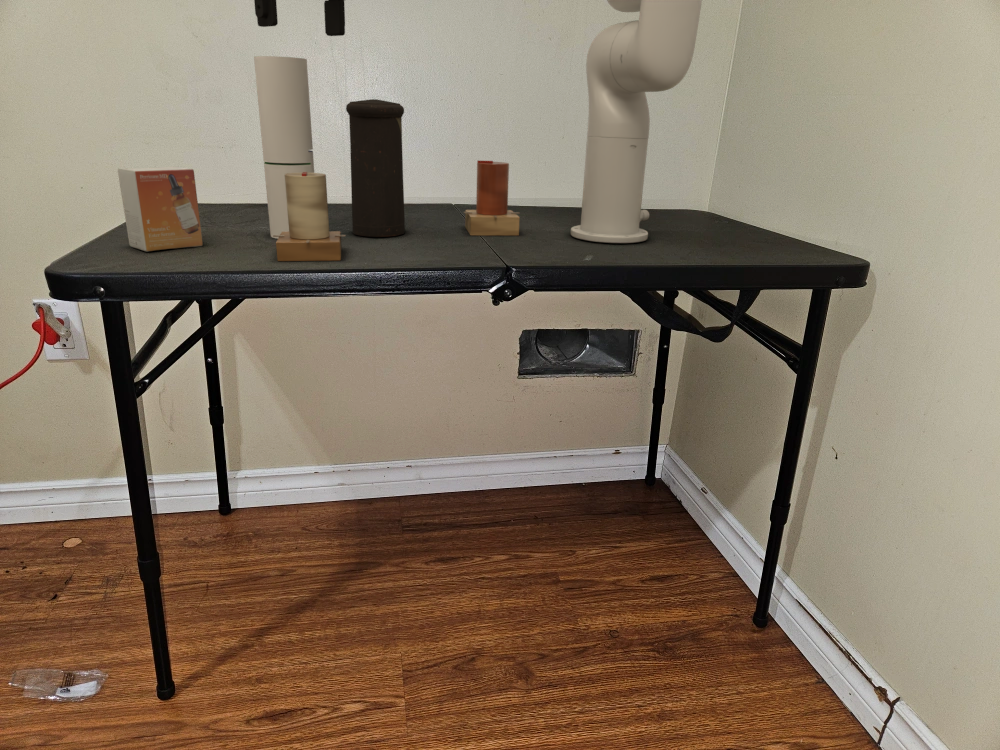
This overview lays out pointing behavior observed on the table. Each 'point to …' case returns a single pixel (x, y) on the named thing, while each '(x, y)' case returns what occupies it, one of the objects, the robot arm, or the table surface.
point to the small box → (160, 207)
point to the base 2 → (492, 224)
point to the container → (376, 168)
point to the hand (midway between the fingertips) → (302, 30)
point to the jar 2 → (492, 188)
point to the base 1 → (309, 248)
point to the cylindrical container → (283, 129)
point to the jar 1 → (307, 205)
